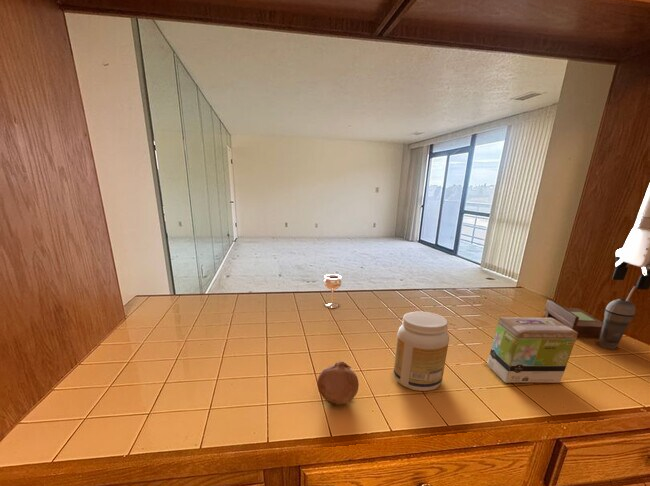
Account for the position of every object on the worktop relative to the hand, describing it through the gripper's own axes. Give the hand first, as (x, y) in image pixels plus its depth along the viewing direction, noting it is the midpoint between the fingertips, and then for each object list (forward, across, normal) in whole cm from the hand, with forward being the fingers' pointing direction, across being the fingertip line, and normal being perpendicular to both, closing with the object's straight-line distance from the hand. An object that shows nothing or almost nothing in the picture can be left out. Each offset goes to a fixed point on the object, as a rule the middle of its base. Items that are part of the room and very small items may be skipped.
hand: (629, 284), depth 102 cm
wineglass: (+22, +25, +88) cm, 94 cm away
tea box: (+21, -21, +34) cm, 45 cm away
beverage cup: (+20, 0, -1) cm, 21 cm away
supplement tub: (+21, -27, +63) cm, 72 cm away
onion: (+22, -38, +83) cm, 94 cm away
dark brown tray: (+20, +15, +1) cm, 25 cm away
